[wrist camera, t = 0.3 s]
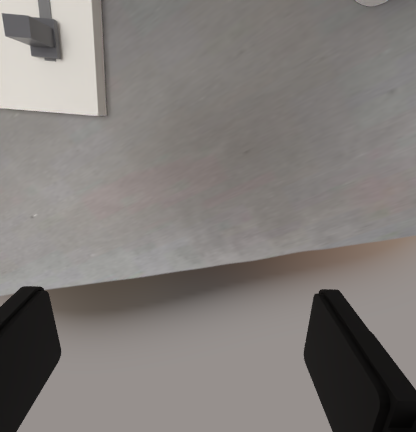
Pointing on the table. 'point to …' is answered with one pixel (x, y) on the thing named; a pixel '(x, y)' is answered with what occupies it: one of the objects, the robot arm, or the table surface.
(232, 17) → the table surface
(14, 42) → the breaker panel
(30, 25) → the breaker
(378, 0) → the cylindrical container
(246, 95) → the table surface
